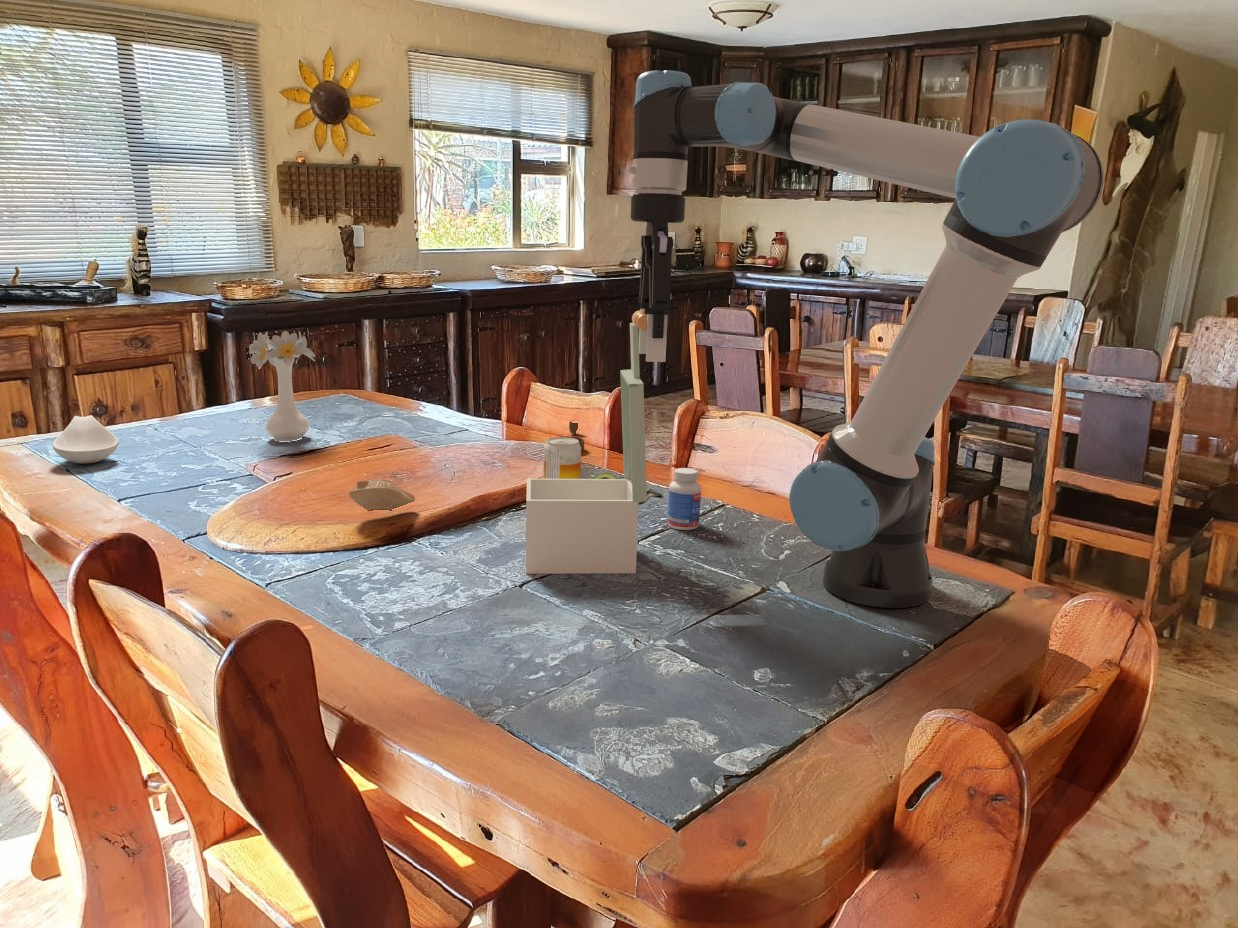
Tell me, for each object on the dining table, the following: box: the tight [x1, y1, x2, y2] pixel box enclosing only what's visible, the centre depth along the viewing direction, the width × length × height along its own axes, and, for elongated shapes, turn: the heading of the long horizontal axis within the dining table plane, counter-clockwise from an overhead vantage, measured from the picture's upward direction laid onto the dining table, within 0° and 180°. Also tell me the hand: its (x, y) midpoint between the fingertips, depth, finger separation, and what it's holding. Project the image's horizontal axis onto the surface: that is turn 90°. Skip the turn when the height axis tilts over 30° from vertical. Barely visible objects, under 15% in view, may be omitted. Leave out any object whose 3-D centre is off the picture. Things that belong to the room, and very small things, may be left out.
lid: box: [619, 310, 648, 503], centre depth 134 cm, size 26×13×4 cm
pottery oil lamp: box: [348, 478, 416, 512], centre depth 157 cm, size 9×12×7 cm
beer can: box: [543, 436, 582, 479], centre depth 152 cm, size 6×6×15 cm
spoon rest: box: [52, 414, 120, 464], centre depth 192 cm, size 24×12×7 cm, turn 32°
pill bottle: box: [667, 467, 702, 531], centre depth 156 cm, size 6×5×10 cm
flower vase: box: [248, 330, 316, 442], centre depth 206 cm, size 13×18×25 cm
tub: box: [525, 478, 639, 575], centre depth 138 cm, size 16×12×11 cm
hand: (651, 357), depth 133 cm, fingers closed on lid, 8 cm apart
